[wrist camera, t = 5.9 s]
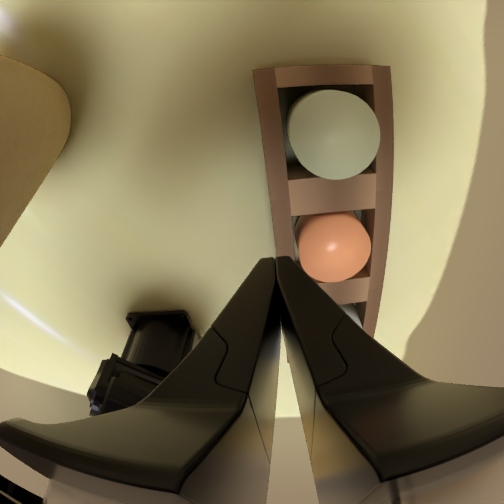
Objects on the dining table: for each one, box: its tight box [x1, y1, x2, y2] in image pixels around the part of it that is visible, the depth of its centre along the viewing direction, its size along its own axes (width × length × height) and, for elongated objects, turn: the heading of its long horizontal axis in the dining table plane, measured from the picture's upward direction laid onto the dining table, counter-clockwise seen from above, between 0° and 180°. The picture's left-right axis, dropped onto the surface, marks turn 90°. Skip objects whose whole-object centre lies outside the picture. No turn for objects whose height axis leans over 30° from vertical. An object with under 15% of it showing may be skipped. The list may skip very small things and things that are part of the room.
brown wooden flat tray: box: [252, 65, 394, 363], centre depth 22 cm, size 8×24×3 cm, turn 8°
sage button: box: [286, 89, 380, 180], centre depth 16 cm, size 5×5×3 cm
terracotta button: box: [295, 210, 371, 282], centre depth 21 cm, size 5×5×3 cm
